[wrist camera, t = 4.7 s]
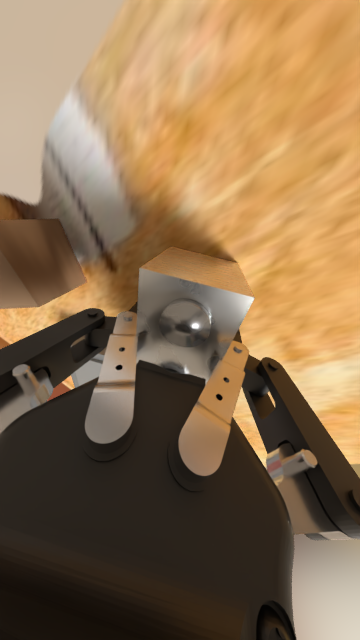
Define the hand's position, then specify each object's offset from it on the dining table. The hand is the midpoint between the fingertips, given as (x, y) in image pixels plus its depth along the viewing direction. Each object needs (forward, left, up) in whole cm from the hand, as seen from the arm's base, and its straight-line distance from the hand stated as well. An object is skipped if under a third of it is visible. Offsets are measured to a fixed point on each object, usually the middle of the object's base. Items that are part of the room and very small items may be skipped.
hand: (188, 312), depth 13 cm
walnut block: (-1, -13, -1) cm, 13 cm away
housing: (0, 0, -1) cm, 1 cm away
